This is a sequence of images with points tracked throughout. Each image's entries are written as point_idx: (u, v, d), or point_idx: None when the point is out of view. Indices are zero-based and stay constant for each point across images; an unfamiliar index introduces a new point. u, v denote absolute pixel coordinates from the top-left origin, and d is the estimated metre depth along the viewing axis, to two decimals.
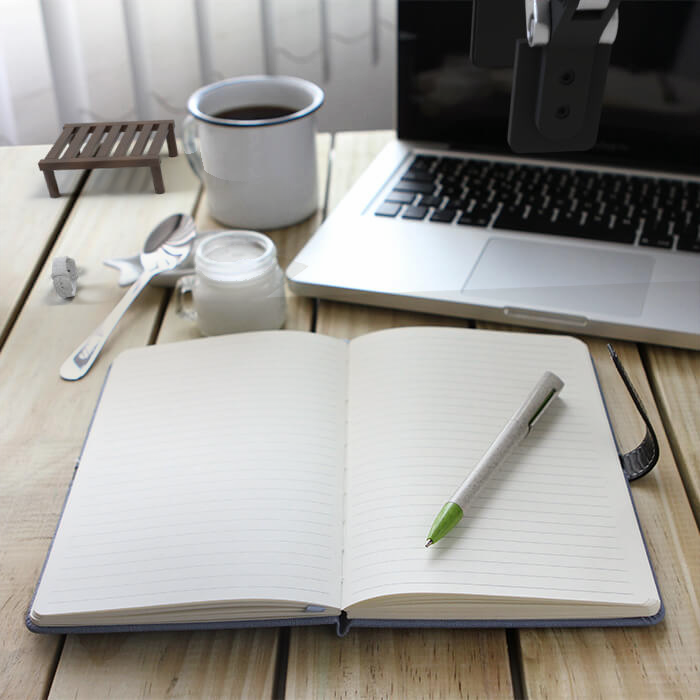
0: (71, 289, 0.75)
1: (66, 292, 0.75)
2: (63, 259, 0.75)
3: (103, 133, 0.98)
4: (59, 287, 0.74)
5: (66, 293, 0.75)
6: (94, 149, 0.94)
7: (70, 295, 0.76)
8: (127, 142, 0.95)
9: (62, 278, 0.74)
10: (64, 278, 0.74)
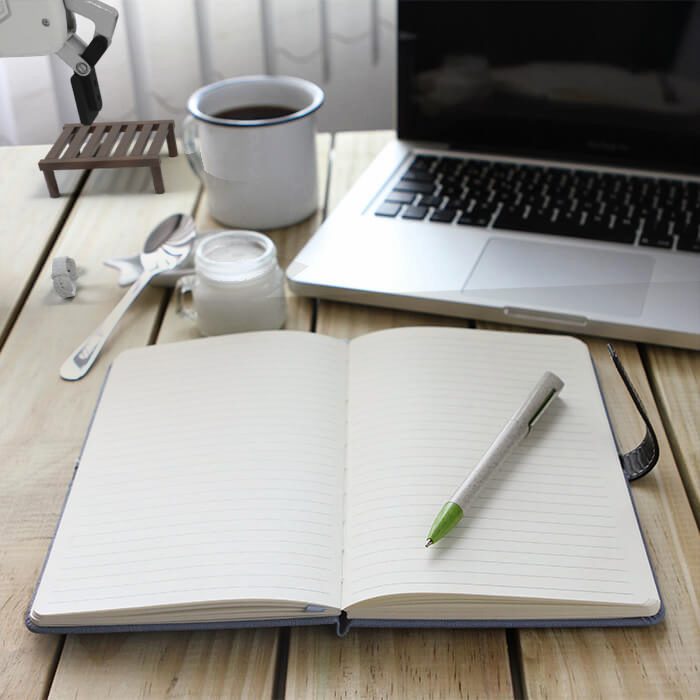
0: (71, 289, 0.75)
1: (66, 292, 0.75)
2: (63, 259, 0.75)
3: (103, 133, 0.98)
4: (59, 287, 0.74)
5: (66, 293, 0.75)
6: (94, 149, 0.94)
7: (70, 295, 0.76)
8: (127, 142, 0.95)
9: (62, 278, 0.74)
10: (64, 278, 0.74)
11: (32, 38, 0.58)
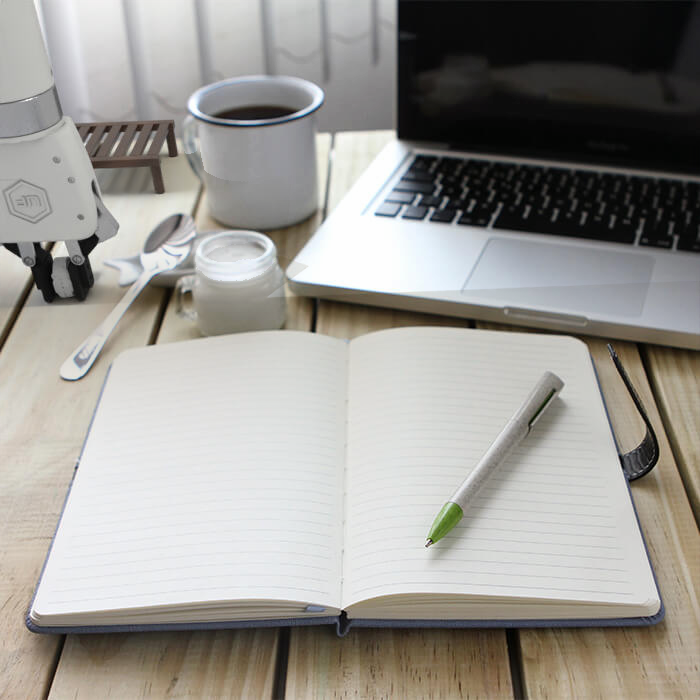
0: (71, 289, 0.75)
1: (66, 292, 0.75)
2: (64, 259, 0.75)
3: (103, 133, 0.98)
4: (59, 287, 0.74)
5: (66, 293, 0.75)
6: (94, 149, 0.94)
7: (70, 295, 0.76)
8: (127, 142, 0.95)
9: (62, 278, 0.74)
10: (64, 278, 0.74)
11: (69, 228, 0.70)
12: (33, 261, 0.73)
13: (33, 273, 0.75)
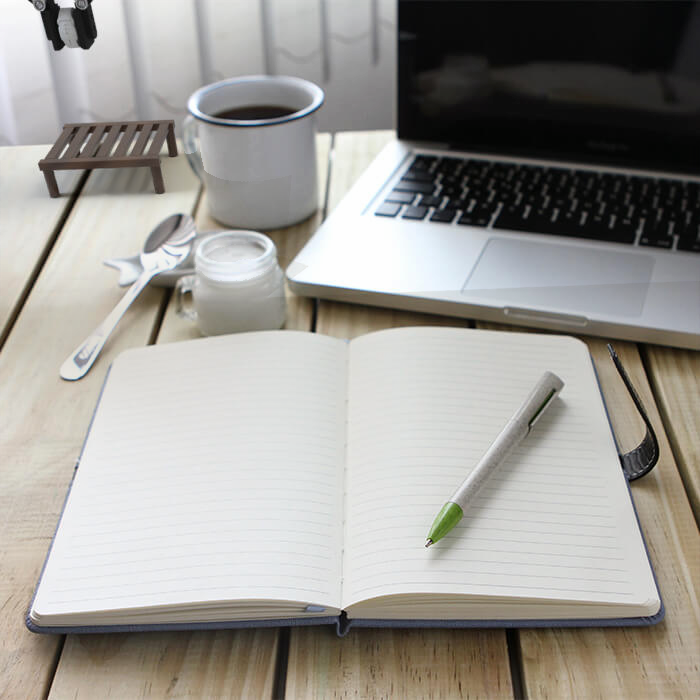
0: (75, 37, 0.81)
1: (70, 39, 0.81)
2: (69, 8, 0.81)
3: (103, 133, 0.98)
4: (64, 33, 0.81)
5: (71, 41, 0.82)
6: (94, 149, 0.94)
7: (75, 44, 0.82)
8: (127, 142, 0.95)
9: (67, 24, 0.81)
10: (69, 24, 0.81)
11: None
12: (43, 5, 0.80)
13: (43, 20, 0.81)
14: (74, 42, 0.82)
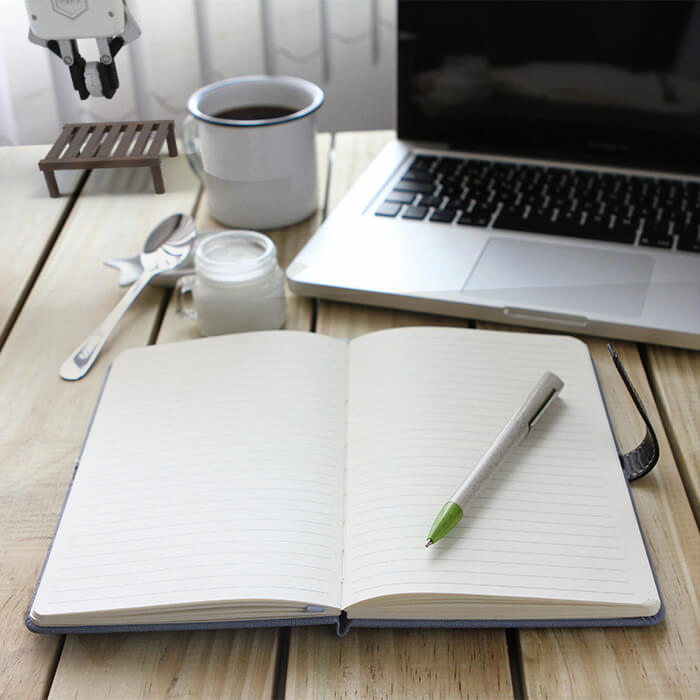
0: (100, 88, 0.90)
1: (96, 90, 0.90)
2: (95, 62, 0.90)
3: (103, 133, 0.98)
4: (90, 84, 0.90)
5: (96, 91, 0.90)
6: (94, 149, 0.94)
7: (99, 94, 0.91)
8: (127, 142, 0.95)
9: (93, 76, 0.89)
10: (94, 76, 0.89)
11: (101, 25, 0.85)
12: (71, 60, 0.89)
13: (71, 73, 0.90)
14: (99, 92, 0.90)
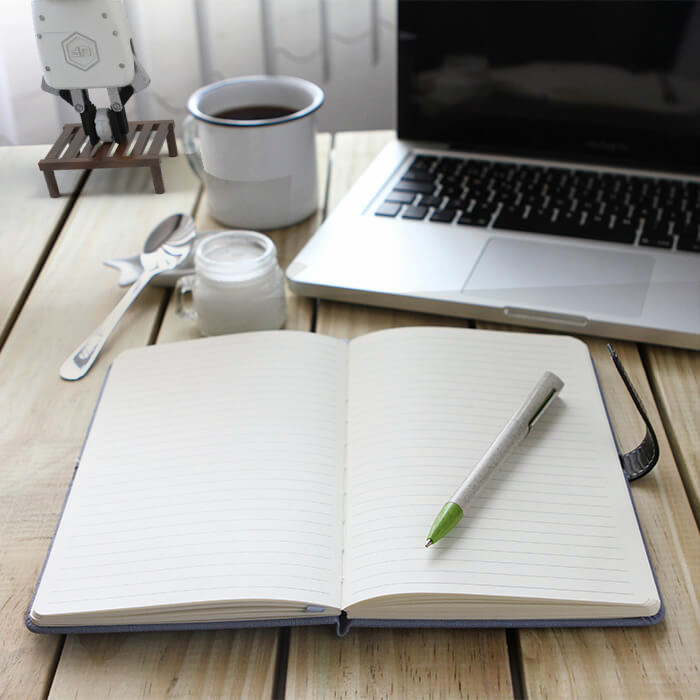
0: (110, 133, 0.93)
1: (106, 136, 0.93)
2: (105, 108, 0.93)
3: None
4: (100, 130, 0.93)
5: (106, 137, 0.94)
6: (94, 149, 0.94)
7: (109, 139, 0.94)
8: (127, 142, 0.95)
9: (103, 123, 0.93)
10: (105, 123, 0.93)
11: (112, 76, 0.88)
12: (82, 108, 0.92)
13: (82, 120, 0.93)
14: (109, 138, 0.94)
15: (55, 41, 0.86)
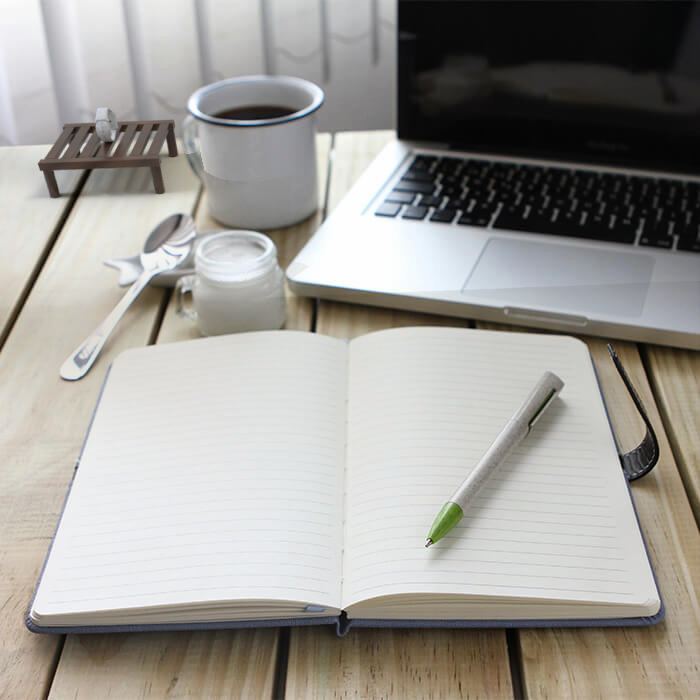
0: (110, 133, 0.93)
1: (106, 136, 0.93)
2: (105, 108, 0.93)
3: None
4: (100, 130, 0.93)
5: (106, 137, 0.94)
6: (94, 149, 0.94)
7: (109, 139, 0.94)
8: (127, 142, 0.95)
9: (103, 123, 0.93)
10: (105, 123, 0.93)
11: None
12: None
13: None
14: (109, 138, 0.94)
15: None
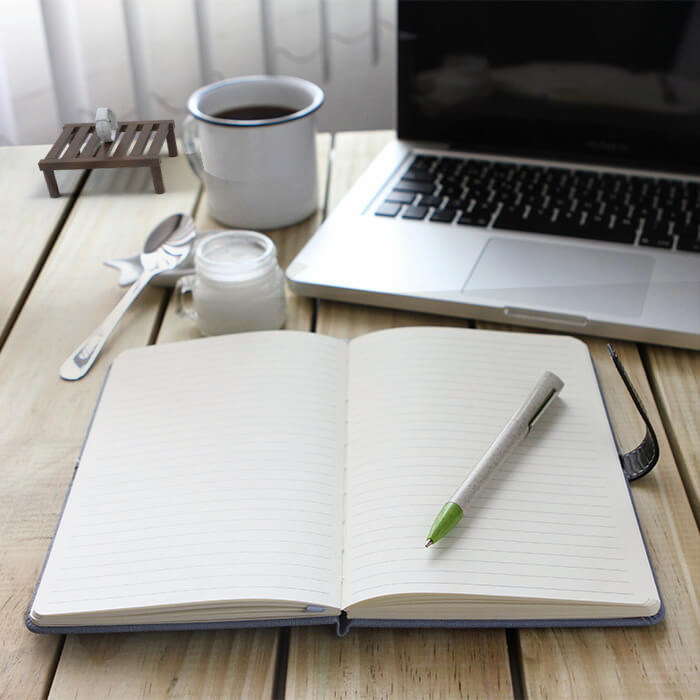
0: (110, 133, 0.93)
1: (106, 136, 0.93)
2: (105, 108, 0.93)
3: None
4: (100, 130, 0.93)
5: (106, 137, 0.94)
6: (94, 149, 0.94)
7: (109, 139, 0.94)
8: (127, 142, 0.95)
9: (103, 123, 0.93)
10: (105, 123, 0.93)
11: None
12: None
13: None
14: (109, 138, 0.94)
15: None
